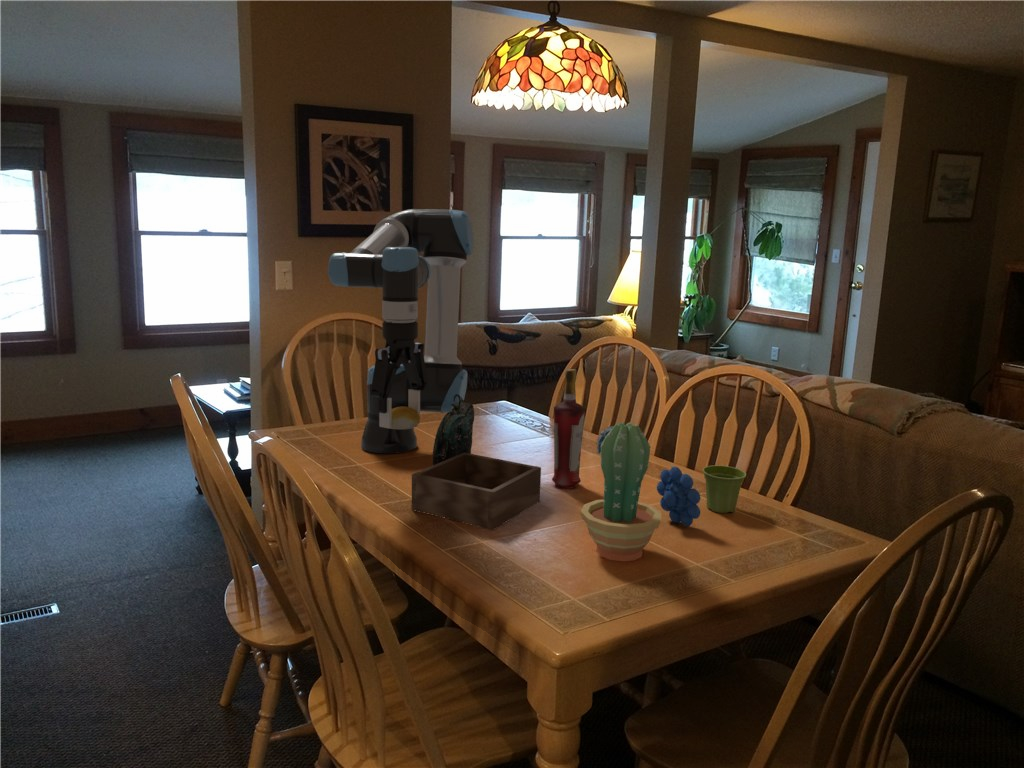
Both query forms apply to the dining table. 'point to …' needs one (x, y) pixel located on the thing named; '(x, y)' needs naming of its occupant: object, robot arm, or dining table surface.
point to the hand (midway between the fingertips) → (400, 422)
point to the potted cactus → (621, 496)
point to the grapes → (678, 496)
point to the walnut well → (476, 489)
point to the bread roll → (404, 418)
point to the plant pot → (722, 487)
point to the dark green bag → (454, 432)
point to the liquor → (568, 435)
